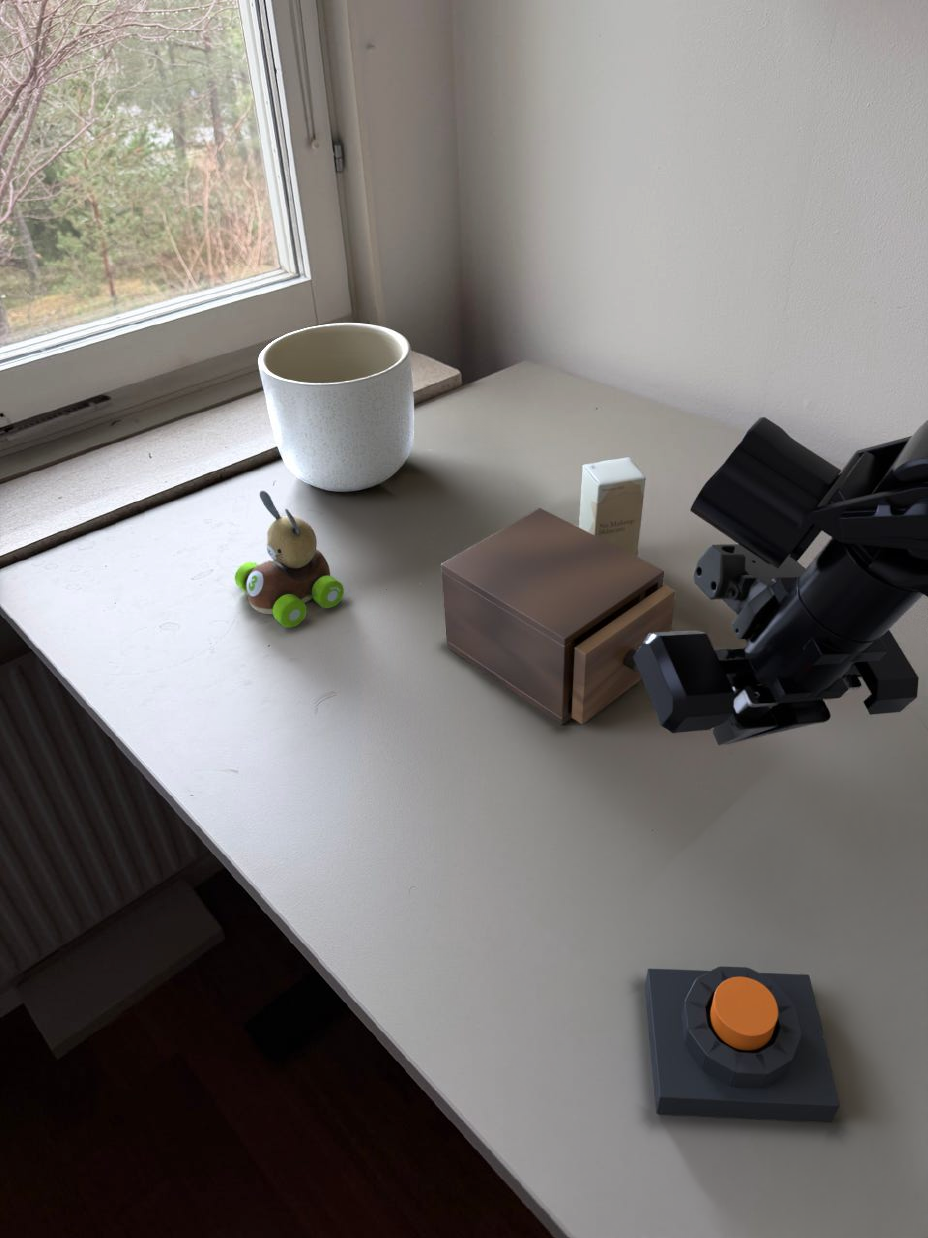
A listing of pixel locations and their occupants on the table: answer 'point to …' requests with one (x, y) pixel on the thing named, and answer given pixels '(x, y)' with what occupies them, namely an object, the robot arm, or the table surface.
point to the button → (744, 1013)
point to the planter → (340, 403)
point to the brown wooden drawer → (614, 652)
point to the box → (613, 502)
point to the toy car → (289, 571)
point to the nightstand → (536, 602)
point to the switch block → (737, 1051)
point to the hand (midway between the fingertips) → (719, 738)
